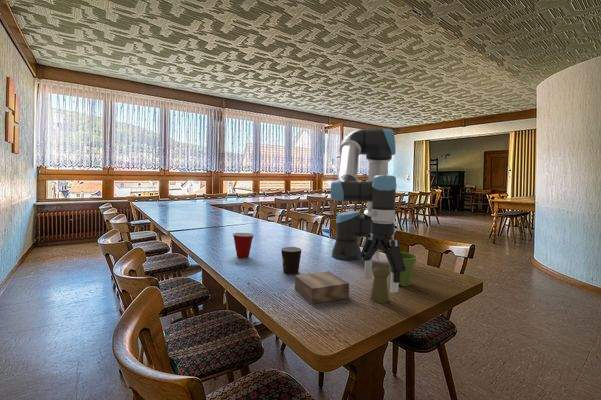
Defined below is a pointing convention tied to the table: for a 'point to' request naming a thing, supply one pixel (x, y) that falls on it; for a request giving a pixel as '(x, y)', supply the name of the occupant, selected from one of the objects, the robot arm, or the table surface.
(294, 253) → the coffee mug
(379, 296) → the pepper mill
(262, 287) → the table surface
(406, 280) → the plant pot
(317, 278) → the walnut pedestal
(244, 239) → the plastic cup
